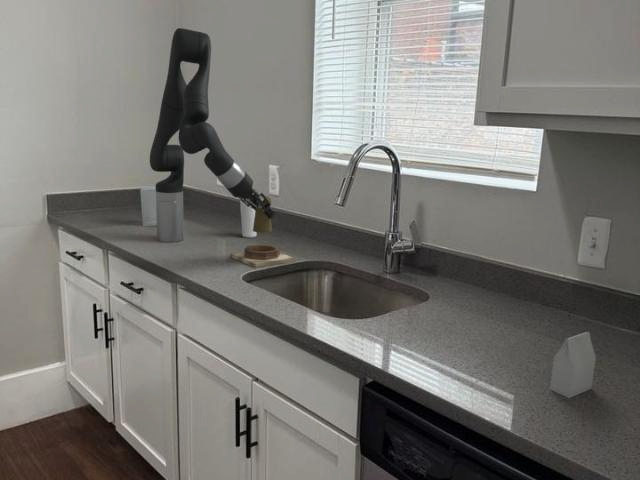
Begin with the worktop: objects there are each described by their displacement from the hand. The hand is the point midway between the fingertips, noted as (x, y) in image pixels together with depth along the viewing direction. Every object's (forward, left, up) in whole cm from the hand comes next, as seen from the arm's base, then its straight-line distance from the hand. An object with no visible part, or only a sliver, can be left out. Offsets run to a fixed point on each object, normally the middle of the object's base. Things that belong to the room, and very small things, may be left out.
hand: (267, 215), depth 181 cm
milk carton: (+104, -4, -14) cm, 105 cm away
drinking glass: (-31, +12, -14) cm, 36 cm away
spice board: (0, -2, -14) cm, 14 cm away
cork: (0, -2, -5) cm, 5 cm away
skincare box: (-68, -10, -14) cm, 70 cm away
